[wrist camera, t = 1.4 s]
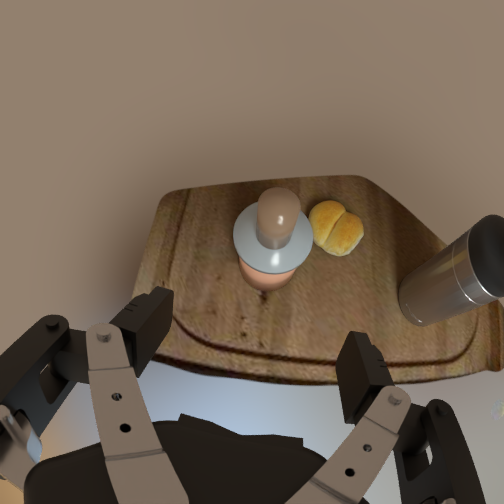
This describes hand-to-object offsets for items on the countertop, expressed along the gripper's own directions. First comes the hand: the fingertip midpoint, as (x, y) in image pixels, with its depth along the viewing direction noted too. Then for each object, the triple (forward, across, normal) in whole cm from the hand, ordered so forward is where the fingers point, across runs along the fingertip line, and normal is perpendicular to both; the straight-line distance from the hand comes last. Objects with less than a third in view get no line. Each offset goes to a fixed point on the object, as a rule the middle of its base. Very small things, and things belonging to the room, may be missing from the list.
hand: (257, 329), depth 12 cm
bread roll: (+33, -10, +2) cm, 35 cm away
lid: (+22, 0, +2) cm, 22 cm away
